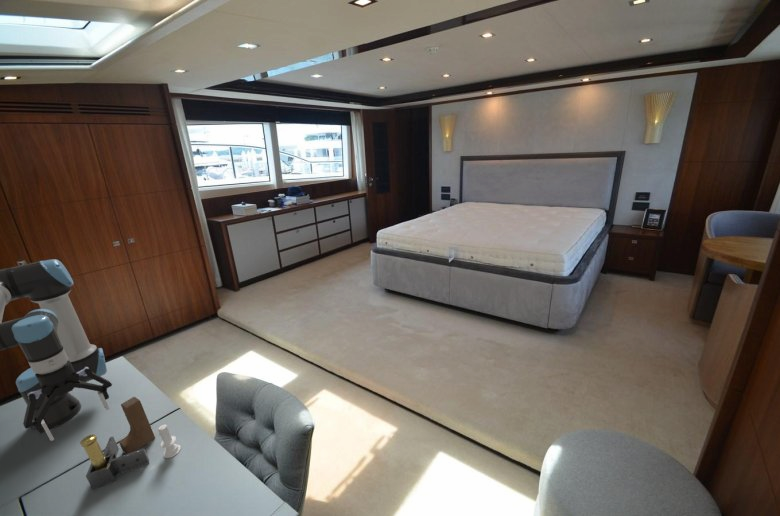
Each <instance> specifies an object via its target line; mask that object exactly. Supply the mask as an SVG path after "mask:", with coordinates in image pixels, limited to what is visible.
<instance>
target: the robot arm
mask: <svg viewBox="0 0 780 516" xmlns="http://www.w3.org/2000/svg"><path fill="white" fill-rule="evenodd" d="M72 286H74V280H73V278H72V276H71V275H70V272H69V271H68V270H67V268H66V267H65V265H64V264H63V263H62V262H61V261H60V260H58V259H55V258H54V259H47V260H39V261H35V262H30V263H26V264H21V265H17V266H12V267H8V268H7V267H6V268H1V269H0V351H4V350H7V349H10V348H14V347H18V346H19V347H20V349H21V351H22V353H23V355H24V356H25V358H26V360H27V362H28V364H29V367H30V368H27V369H26V370H25V371H23V372H22V373H21V374H19V376H18V377H17V378H16V380H15V385H16V387H17V391H18V393H20V395H21V397H22V399H23V400H24V402H25V404H26V410H25V414H24V417H23V423H22V424H23V426H24V428H25V429H26V430H27V429H30V428H31V429H32V430H34V431H36V430H37V431H38V433H39V434H40V435H42V434H44V433H46V435H47V436H48V438H49V440H50V441H51V442H53V441H54V440H55V438H54V436H53V434H52V432H51V430H50V429H53V428H56V427H58V426H60V425H61V424H64V423H65V422H68V421H69V420H70V419H71V418H73V417H74V416H76V415H77V414H78V412H79V411H80V410H81V409H82V404H81V402H80V400H79V399H77V397H75V396H74V395H73V394H72V393H70V392H72V391H73V390H75V388H76V389H84V390H90V391H94V392H95V391H96V393H97V394H98V397H99V400H100V401H101V404H102V406H103V408H104V409H105V411H109V410H110V407H109V405H108V402H107V400H108V399H109V398H110V395H109V393H108V388H110V387H112V385H113V383H112V382H111V381H110V380H108V379H106V378H104V377H102V376H104V375H106V374H107V372H108V368H107V364H106V360H105V359H106V358H105V354H104V350H103V348H102V347H99V348H98V347H97V345H95V344H94V343H92V344H91V343H90V341H89V339H88V337H87V333H86V331H85V330H84V328H83V326H82V323H81V321H80V319H79V316H78V314H77V311H76V310H75V307H74V305H73V304H72V301H71V299H70V296H69V294H70V292H72V288H71V287H72ZM24 298H29V300H30V302H32V303H34V304H37V305H39V308H38V309H33V310H31V311H28V313H27V314H25V315H24V316H22V317H19V318H15V319H12V320H8V321H4V322H3V317H4V311H5V309H6V308H5V307H6V306H7V305H8V304H9V302H12V301H15V300H18V299H24ZM93 380H94V381H96V382H98V383H100V384H97V383H92V382H91V381H93Z"/></svg>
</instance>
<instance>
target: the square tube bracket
mask: <svg viewBox="0 0 780 516" xmlns="http://www.w3.org/2000/svg"><path fill="white" fill-rule="evenodd" d="M119 450H120V448H119V446H118V444H117V441H116V440H115V437H114V436H110V437H109V438H108V440H107V444H106V446H105V448H104V450H103V454H104V456H105V458H106V460H107V462H108V465H107V467H105V468H102V469H100V470H97V471H96V470H95V468H94V466H93V464H92V462H91V463H90V465H89V468H88V470H87V473H86V475H85V478H86V480H87V481H88V483H89V485H90V487H91V490H95V489H98V488H101V487H104V486H106V485H108V484H111V483H114V482H116V481H117V477H118V475H121V474H123V472H124V473H125V472H128V470H129V471H131V469H132V470H134V469H137V468H139V466H140V467H142V465H143V466H146V465H148V464H150V462H149V461H150V458H149V456H148V454H147V452H146V449H145V447H142V448H140V449H139V450H137V451H134V452H131V453H128V454H124V455H120V456H118V457H117V455H118V453H119Z"/></svg>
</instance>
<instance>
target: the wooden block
mask: <svg viewBox="0 0 780 516" xmlns="http://www.w3.org/2000/svg"><path fill="white" fill-rule="evenodd" d="M120 406H121V408H122V411H123V413H124V416H125V418H126V420H127V423H128V424H129V432H128V434H127V435H126V436H125V437H124V438H123V439H121V440H120V441H119V446H120V448H121V450H122V453H124V455H126V454H128V453H131V452H134V451H137V450H140V449H143V448H144V447H145V446H146V445H148V444H149V443H151V442H152V441H153V440H155V439H156V436H155V434H154V431H153V428H152V426H151V423H150V421H149V419H148V416H147V414H146V412H145V409H144V406H143V404H142V402H141V400H140V399H138V398H137V396H132V397H131V398H129V399H127V400H125V401H124V402H122V403H121V404H120Z"/></svg>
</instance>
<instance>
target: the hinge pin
mask: <svg viewBox="0 0 780 516" xmlns="http://www.w3.org/2000/svg"><path fill="white" fill-rule="evenodd" d="M97 439H98V437H97V435H96V434H95V433H94V434H89V435H87V436H86V437H84V438H82V440H81V441H80V445H81V447H83V448H84V451H85V452H86V454H87V456H88V458H89V461H90V462H91V463H92V464H93V466H94V468H95V470H96V471H97V470H100V469H102V468H105V467H107V465H108V462H107V460H106V458H105V456H104V454H103V453H104V451H103V450H102V448H101V446H100V444H99V442H98V440H97Z"/></svg>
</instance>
